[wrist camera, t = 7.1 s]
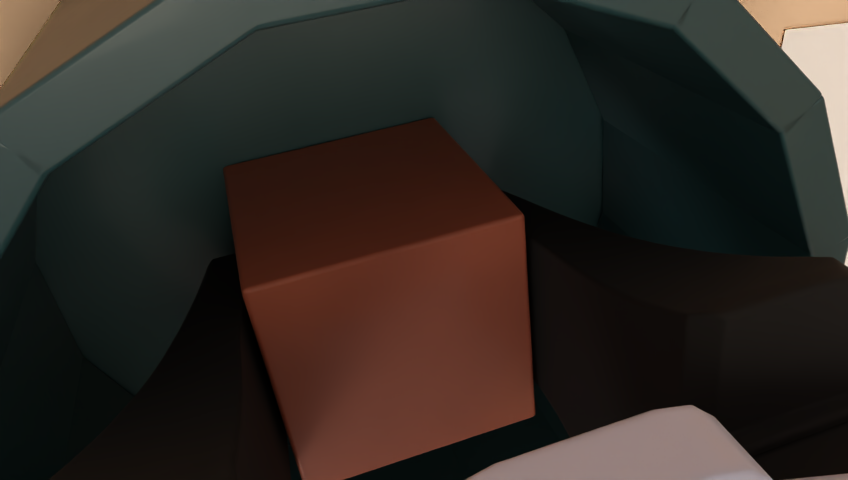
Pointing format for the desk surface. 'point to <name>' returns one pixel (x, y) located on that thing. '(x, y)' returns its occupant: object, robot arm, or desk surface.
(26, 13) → the desk surface
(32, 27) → the desk surface
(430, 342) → the block
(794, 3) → the desk surface
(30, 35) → the desk surface
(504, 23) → the pot
